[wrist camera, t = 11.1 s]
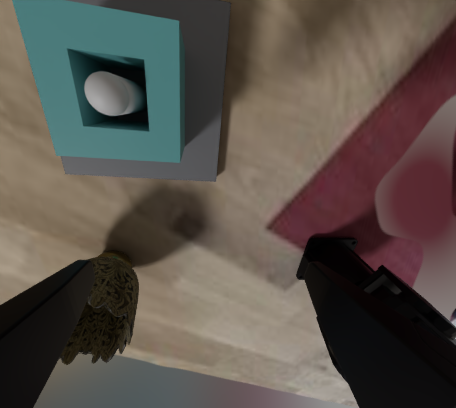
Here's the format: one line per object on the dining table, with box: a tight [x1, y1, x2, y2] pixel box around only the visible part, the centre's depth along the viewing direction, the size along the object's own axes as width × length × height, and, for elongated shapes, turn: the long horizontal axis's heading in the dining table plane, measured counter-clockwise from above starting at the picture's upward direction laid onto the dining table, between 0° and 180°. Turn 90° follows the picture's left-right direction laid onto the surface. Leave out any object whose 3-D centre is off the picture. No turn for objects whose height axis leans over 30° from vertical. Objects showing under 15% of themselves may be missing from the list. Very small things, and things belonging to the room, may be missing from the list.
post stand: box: [61, 0, 231, 182], centre depth 12 cm, size 12×12×7 cm
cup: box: [59, 251, 139, 365], centre depth 18 cm, size 8×7×8 cm
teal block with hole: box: [12, 0, 185, 163], centre depth 12 cm, size 6×6×5 cm
